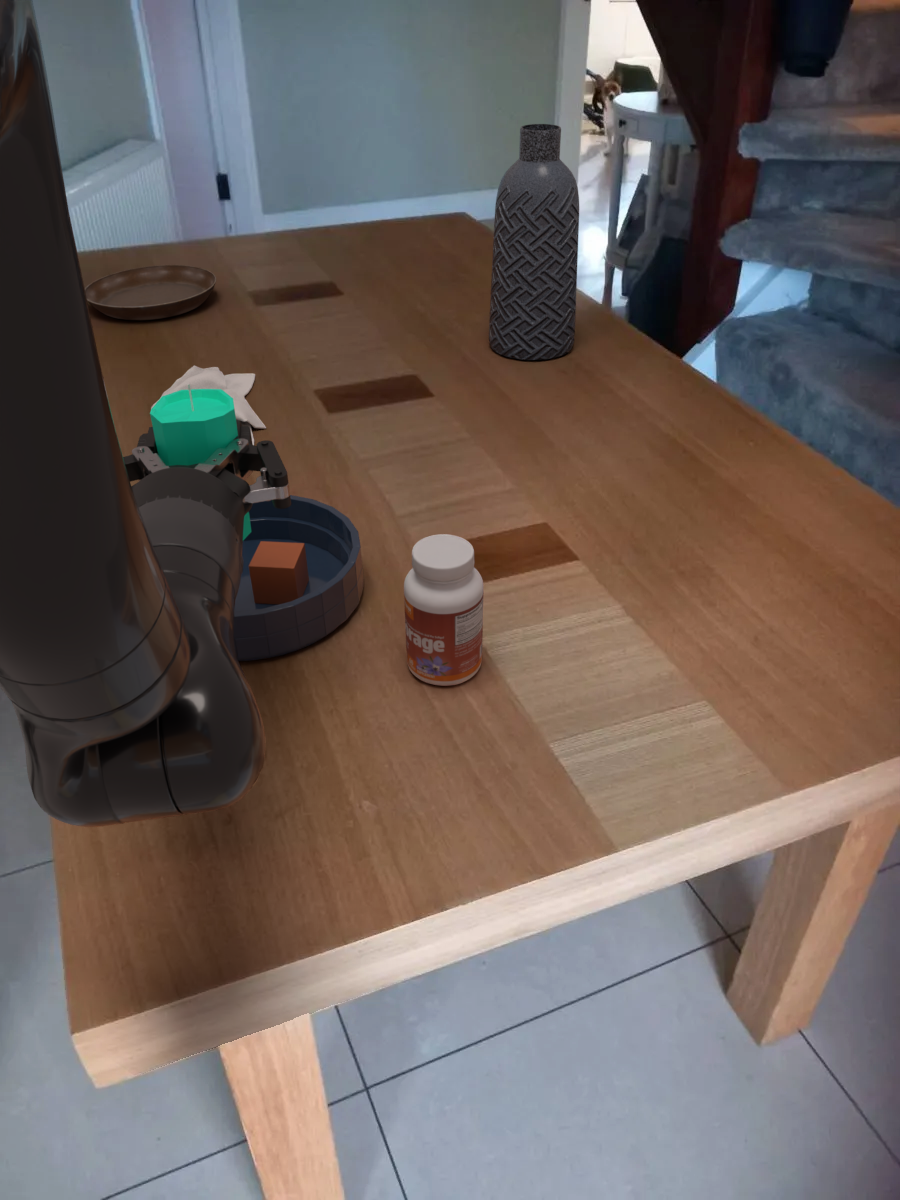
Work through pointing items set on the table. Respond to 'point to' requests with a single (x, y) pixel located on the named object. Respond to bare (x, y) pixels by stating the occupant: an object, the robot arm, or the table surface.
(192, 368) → the cloth
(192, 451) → the candle
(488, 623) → the table surface
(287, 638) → the bowl
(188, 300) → the plant saucer
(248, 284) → the table surface
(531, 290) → the vase
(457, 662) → the pill bottle
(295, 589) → the block
